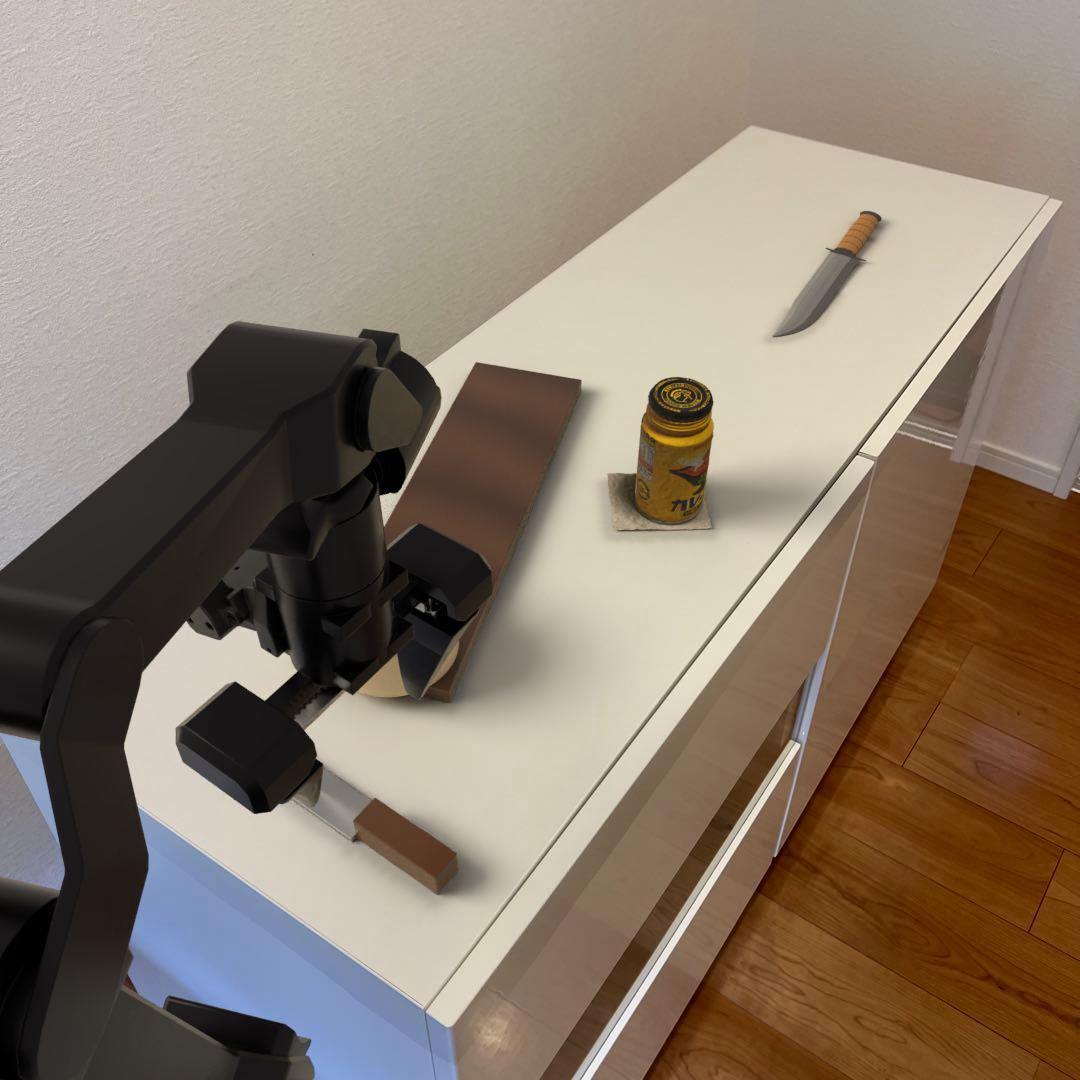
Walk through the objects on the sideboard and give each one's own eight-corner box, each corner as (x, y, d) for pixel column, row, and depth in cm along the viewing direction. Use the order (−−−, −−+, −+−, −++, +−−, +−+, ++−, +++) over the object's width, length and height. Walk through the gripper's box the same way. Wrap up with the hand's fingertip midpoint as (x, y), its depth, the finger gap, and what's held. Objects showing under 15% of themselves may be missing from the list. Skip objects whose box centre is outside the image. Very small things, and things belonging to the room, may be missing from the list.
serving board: (450, 703, 80) (449, 691, 78) (312, 671, 82) (309, 659, 81) (581, 391, 107) (581, 379, 106) (476, 373, 109) (475, 361, 108)
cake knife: (462, 865, 70) (461, 847, 69) (433, 900, 68) (431, 883, 67) (277, 738, 77) (272, 720, 76) (246, 767, 75) (240, 749, 74)
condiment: (711, 529, 93) (729, 419, 85) (613, 531, 93) (621, 421, 84) (699, 474, 98) (715, 365, 90) (606, 476, 98) (614, 366, 90)
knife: (807, 343, 113) (763, 328, 114) (805, 353, 113) (761, 337, 115) (895, 216, 131) (856, 204, 132) (892, 225, 132) (853, 213, 133)
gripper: (338, 404, 61) (367, 592, 72) (62, 602, 50) (146, 788, 61) (495, 480, 56) (501, 668, 67) (228, 716, 46) (287, 895, 56)
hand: (363, 745), depth 63 cm, fingers open, 9 cm apart
